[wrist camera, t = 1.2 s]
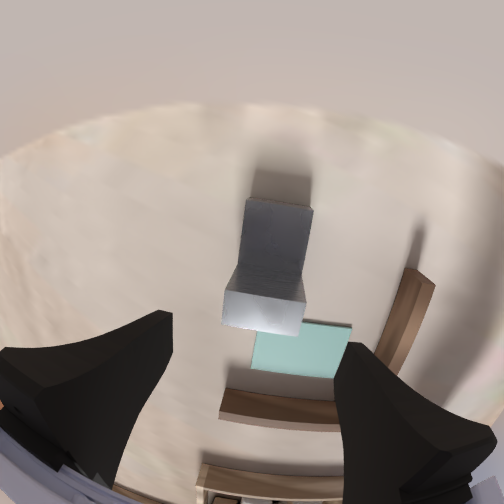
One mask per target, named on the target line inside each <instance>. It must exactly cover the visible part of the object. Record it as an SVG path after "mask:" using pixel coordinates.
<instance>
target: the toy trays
mask: <svg viewBox="0 0 504 504" xmlns="http://www.w3.org/2000/svg"><path fill="white" fill-rule="evenodd" d="M343 487H344V476H329V477H306V476H284V475H272V474H262V473H254V472H246V471H240V470H233V469H228V468H222V467H217V466H213V465H208V464H204V463H202V466H201V469H200V472H199V476H198V479H197V482H196V498H197V504H208V491H212V492H217V493H222V494H228V495H234V496H241V497H248V498H257V499H267V500H281V501H324V502H323V503H322V504H342V500H343ZM112 491H114V492H116V493H119V494H121V495H123V496H126V497H128V498H130V499H133V500H135V501H138V502H141V503H143V504H162V503H159V502H156V501H153V500H150V499H148V498H145V497H142V496H140V495H137V494H135V493H132V492H130V491H127V490H125V489H123V488H120V487H118V486H116V485H114V484H113V488H112Z"/></svg>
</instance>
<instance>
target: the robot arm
mask: <svg viewBox="0 0 504 504" xmlns="http://www.w3.org/2000/svg"><path fill="white" fill-rule="evenodd" d="M172 353H173V313H171V312H166V311H162V310H157V311H155V312H152V313H150V314H148V315H146V316H144V317H142V318H140V319H138V320H136V321H133V322H131V323H129V324H127V325H125V326H123V327H120V328H118V329H115V330H113V331H110V332H108V333H105V334H103V335H100V336H97V337H94V338H91V339H87V340H84V341H80V342H76V343H71V344H65V345H60V346H53V347H42V348H14V347H5V348H3V349H2V350H1V351H0V400H1V402H2V404H3V405H4V407H3V408H2V409H1V410H0V489H1V490H2V491H3V492H4V493H5V494H6V495H7V496H8V497H9V498H10V499H12V501H14V502H15V503H16V504H143V503H141V502H138V501H135V500H133V499H130V498H128V497H126V496H123V495H121V494H119V493H116V492H114V491H112V488H113V484H114V480H115V477H116V473H117V470H118V467H119V464H120V461H121V458H122V455H123V452H124V449H125V446H126V444H127V441H128V439H129V436H130V434H131V431H132V429H133V427H134V424H135V422H136V420H137V417H138V415H139V413H140V411H141V410H142V408H143V406H144V404H145V403H146V401H147V400H148V398H149V396H150V395H151V393H152V391H153V390H154V388H155V387H156V385H157V383H158V382H159V380H160V378H161V377H162V375H163V373H164V372H165V370H166V367H167V365H168V363H169V361H170V358H171V356H172ZM334 395H335V403H336V408H337V414H338V419H339V424H340V429H341V435H342V441H343V449H344V487H343V500H342V504H504V497H503V494H502V492H501V489H500V487H499V484H498V482H497V480H496V477H495V476H492V477H490V478H488V479H487V480H484V481H482V482H480V483H478V484H477V485H475V486H473V487H472V488H470V487H469V485H468V483H469V482H471V481H472V476H471V472H472V471H474V470H475V469H476V468H477V467H478V466H479V465H480V464H481V463H482V462H483V461H484V460H485V459H486V458H487V457H488V456H489V455H490V454H491V453H492V452H493V450H494V449H495V447H496V444H497V439H496V437H495V435H494V433H493V431H492V430H491V428H490V427H489V426H488V425H484V424H481V423H477V422H474V421H470V420H467V419H465V418H462V417H460V416H457V415H455V414H453V413H451V412H449V411H447V410H445V409H443V408H441V407H439V406H437V405H436V404H434V403H432V402H431V401H429V400H427V399H426V398H424V397H423V396H421V395H420V394H419V393H417V392H416V391H414V390H413V389H412V388H411V387H409V386H408V385H407V384H406V383H404V382H403V381H402V380H401V379H400V378H399V377H397V376H396V375H395V374H394V373H393V372H392V371H391V370H390V369H389V368H388V367H387V366H386V365H385V364H384V363H383V362H382V361H381V360H380V359H378V358H377V357H376V356H375V355H374V354H373V353H372V352H371V351H370V350H369V349H368V348H367V347H366V346H365V345H364V344H362V343H358V342H348V343H347V346H346V349H345V351H344V354H343V357H342V359H341V362H340V364H339V367H338V369H337V372H336V374H335V376H334Z"/></svg>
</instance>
